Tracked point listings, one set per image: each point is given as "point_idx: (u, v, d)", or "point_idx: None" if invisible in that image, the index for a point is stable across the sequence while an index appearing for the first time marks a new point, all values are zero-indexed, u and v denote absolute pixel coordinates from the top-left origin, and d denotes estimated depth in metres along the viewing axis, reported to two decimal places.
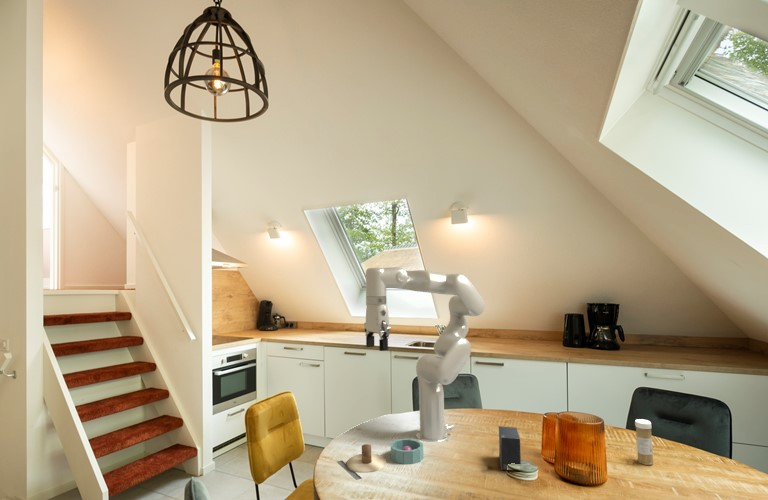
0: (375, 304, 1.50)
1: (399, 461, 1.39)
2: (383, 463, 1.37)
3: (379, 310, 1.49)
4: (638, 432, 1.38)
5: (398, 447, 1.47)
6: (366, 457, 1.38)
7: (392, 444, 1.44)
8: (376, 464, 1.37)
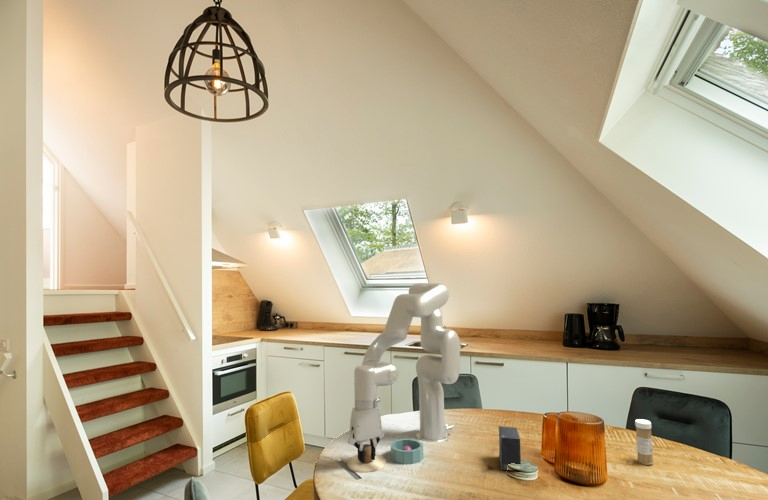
0: (376, 406, 1.40)
1: (399, 461, 1.39)
2: (383, 463, 1.37)
3: None
4: (638, 432, 1.38)
5: (398, 447, 1.47)
6: (366, 456, 1.38)
7: (392, 444, 1.44)
8: (376, 464, 1.37)
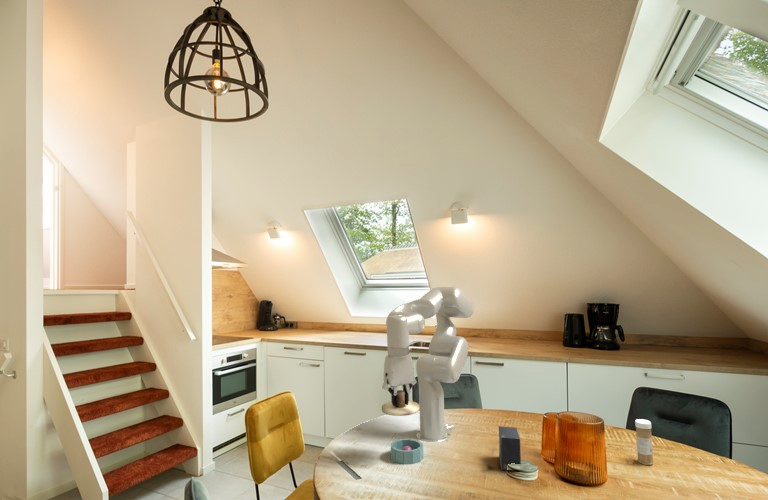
0: None
1: (399, 461, 1.39)
2: (416, 407, 1.43)
3: None
4: (638, 432, 1.38)
5: (398, 447, 1.47)
6: (400, 401, 1.43)
7: (392, 444, 1.44)
8: (410, 408, 1.42)
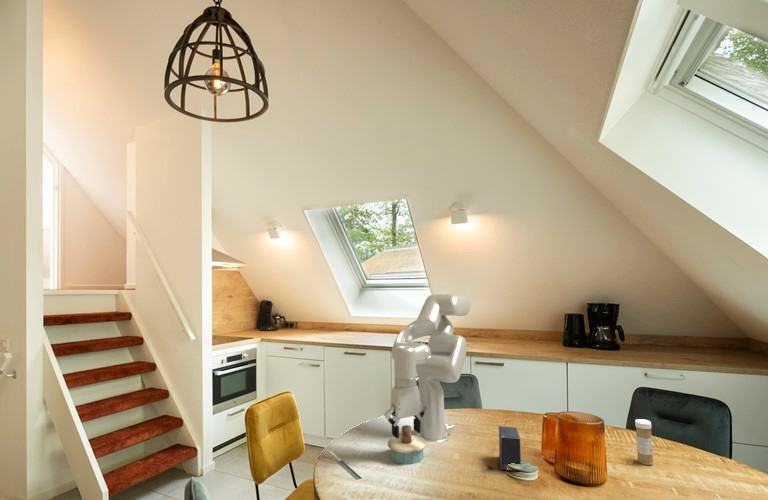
0: (416, 385, 1.45)
1: (399, 461, 1.39)
2: (423, 443, 1.42)
3: None
4: (638, 432, 1.38)
5: None
6: (407, 437, 1.42)
7: None
8: (416, 444, 1.41)
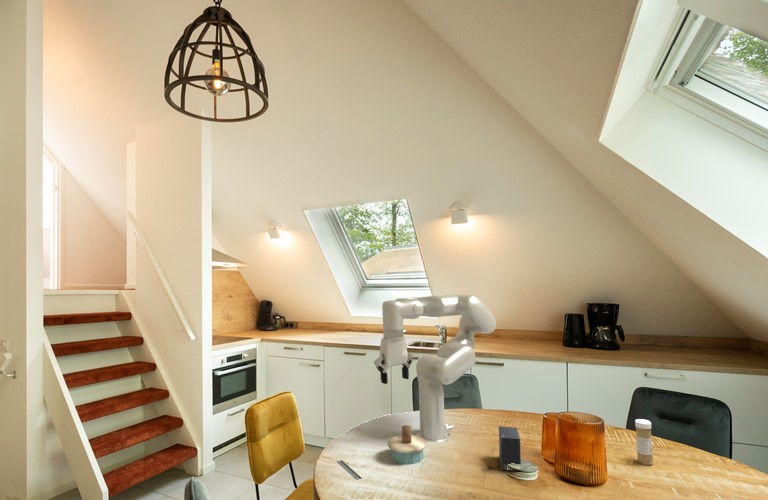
0: (403, 336, 1.55)
1: (399, 461, 1.39)
2: (423, 443, 1.42)
3: None
4: (638, 432, 1.38)
5: None
6: (407, 437, 1.42)
7: None
8: (416, 444, 1.41)
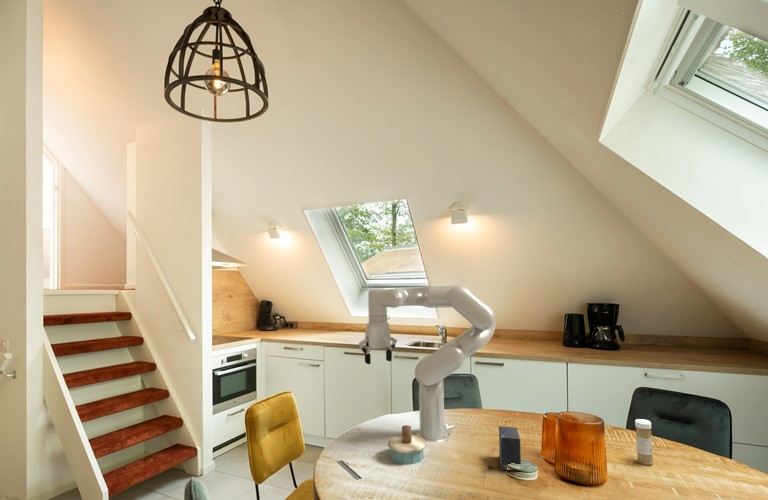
0: (386, 321, 1.70)
1: (399, 461, 1.39)
2: (423, 443, 1.42)
3: None
4: (638, 432, 1.38)
5: None
6: (407, 437, 1.42)
7: None
8: (416, 444, 1.41)
